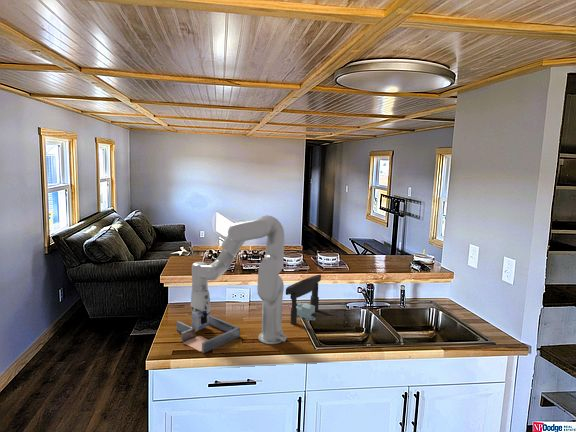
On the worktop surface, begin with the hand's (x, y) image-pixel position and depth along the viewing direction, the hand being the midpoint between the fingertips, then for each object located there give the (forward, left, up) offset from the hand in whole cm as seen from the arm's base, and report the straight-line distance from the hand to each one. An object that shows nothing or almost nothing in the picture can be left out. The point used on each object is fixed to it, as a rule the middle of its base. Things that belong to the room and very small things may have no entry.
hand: (200, 321), depth 202 cm
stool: (-28, -49, -5) cm, 56 cm away
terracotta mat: (-12, +10, -4) cm, 16 cm away
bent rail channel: (-6, +3, -4) cm, 8 cm away
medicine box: (0, 0, -3) cm, 3 cm away
